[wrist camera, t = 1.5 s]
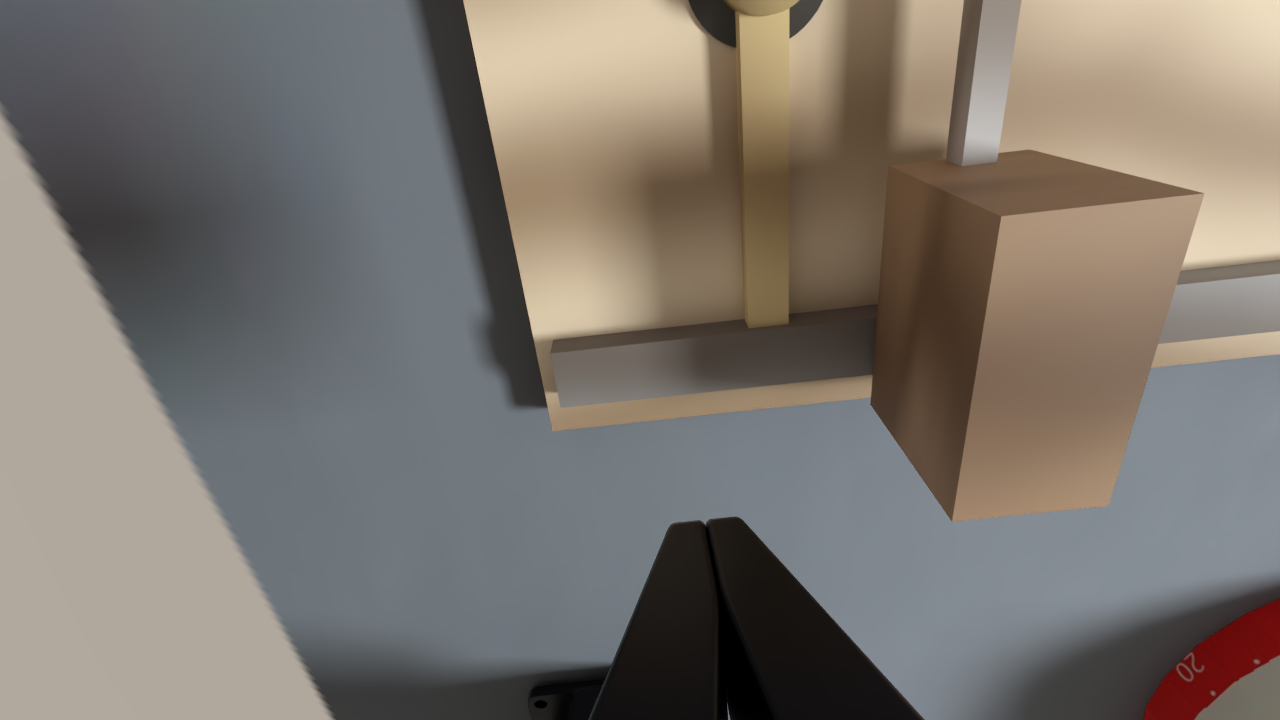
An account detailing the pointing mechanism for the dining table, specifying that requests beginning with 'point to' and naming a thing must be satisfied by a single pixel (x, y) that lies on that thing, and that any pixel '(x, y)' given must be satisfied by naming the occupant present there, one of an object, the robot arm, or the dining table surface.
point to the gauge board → (836, 176)
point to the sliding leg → (1018, 303)
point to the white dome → (1227, 674)
